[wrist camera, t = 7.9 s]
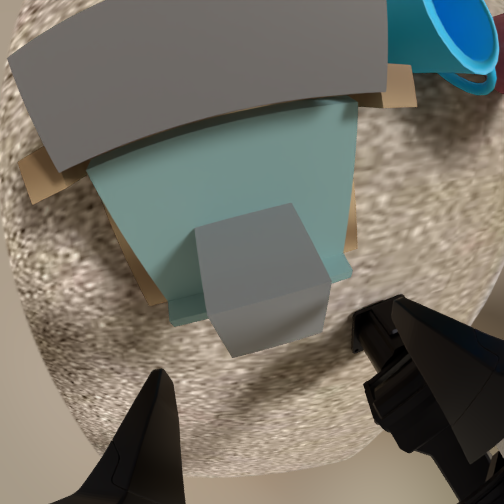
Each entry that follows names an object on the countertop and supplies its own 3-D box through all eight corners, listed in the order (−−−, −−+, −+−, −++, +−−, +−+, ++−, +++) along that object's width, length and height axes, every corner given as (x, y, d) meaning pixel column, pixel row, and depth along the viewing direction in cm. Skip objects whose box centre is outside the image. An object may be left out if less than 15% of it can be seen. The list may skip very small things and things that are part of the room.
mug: (333, 28, 15) (400, -1, 8) (372, -27, 12) (434, -56, 5) (434, 120, 19) (505, 138, 12) (460, 62, 16) (525, 67, 9)
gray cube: (293, 263, 18) (322, 332, 15) (216, 284, 18) (232, 358, 14) (291, 202, 14) (331, 281, 11) (194, 227, 14) (207, 315, 11)
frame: (354, 245, 23) (414, 308, 16) (150, 301, 23) (136, 389, 15) (322, 21, 14) (396, -18, 6) (70, 83, 14) (-9, 77, 6)
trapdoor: (325, 230, 21) (353, 283, 18) (169, 273, 20) (174, 333, 17) (319, -20, 8) (384, -25, 5) (61, 39, 7) (7, 58, 4)
